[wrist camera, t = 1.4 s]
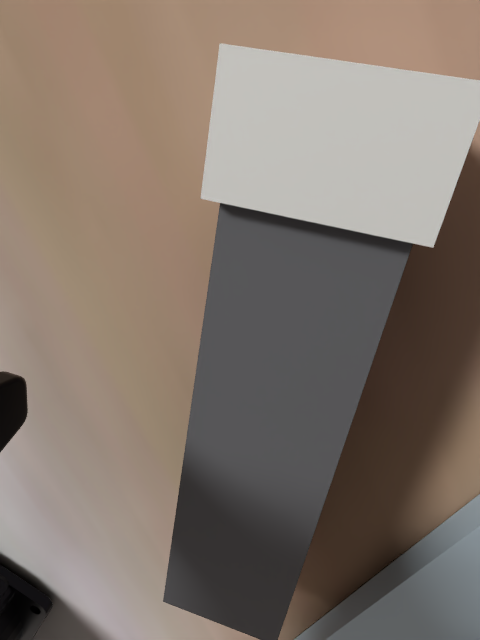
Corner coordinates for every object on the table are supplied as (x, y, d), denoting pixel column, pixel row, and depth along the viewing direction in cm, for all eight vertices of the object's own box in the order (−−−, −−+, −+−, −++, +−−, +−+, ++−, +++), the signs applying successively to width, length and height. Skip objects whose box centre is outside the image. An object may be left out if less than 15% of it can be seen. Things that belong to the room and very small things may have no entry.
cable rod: (298, 544, 13) (280, 666, 10) (195, 509, 13) (148, 614, 10) (437, 112, 8) (493, 82, 5) (268, 85, 8) (220, 43, 5)
